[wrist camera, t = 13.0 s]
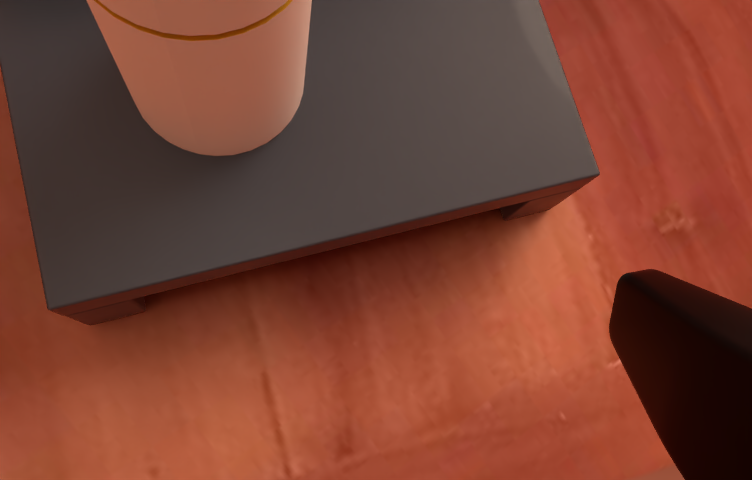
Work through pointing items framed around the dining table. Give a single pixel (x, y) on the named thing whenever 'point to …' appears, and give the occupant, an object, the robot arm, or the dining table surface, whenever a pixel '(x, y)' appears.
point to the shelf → (285, 146)
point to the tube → (210, 67)
